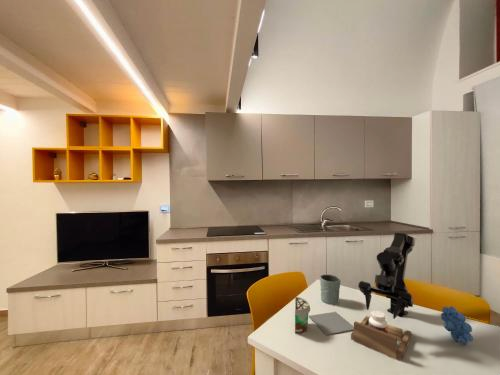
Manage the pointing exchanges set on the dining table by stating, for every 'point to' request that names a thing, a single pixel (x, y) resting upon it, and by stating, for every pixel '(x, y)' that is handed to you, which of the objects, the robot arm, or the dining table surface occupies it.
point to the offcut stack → (395, 332)
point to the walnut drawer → (379, 339)
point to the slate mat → (331, 323)
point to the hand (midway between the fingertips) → (380, 313)
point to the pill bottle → (378, 321)
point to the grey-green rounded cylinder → (330, 289)
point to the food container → (301, 315)
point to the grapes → (456, 325)
